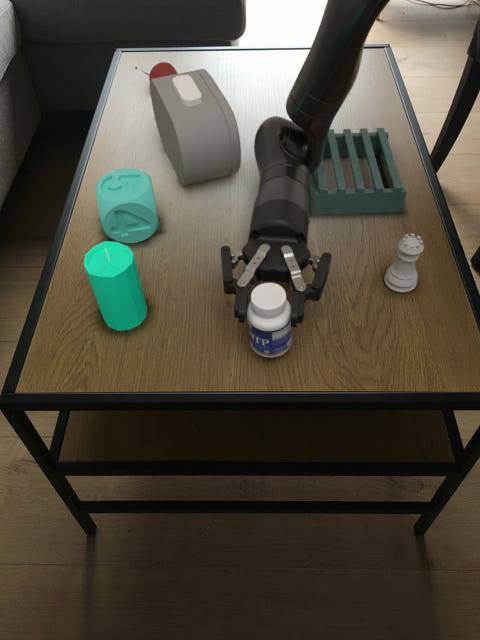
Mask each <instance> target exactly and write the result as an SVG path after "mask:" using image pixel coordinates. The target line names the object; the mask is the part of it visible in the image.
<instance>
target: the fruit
mask: <svg viewBox="0 0 480 640" xmlns="http://www.w3.org/2000/svg"><path fill="white" fill-rule="evenodd" d="M134 69H135V70H137V69H138V66H135V67H134ZM140 71H141V72H142V73H144V74H145V75H147V76H148V81H149V82H150V80H151V79H154V78H159V77H164V76H169V75H174V74H179V73H178V71H177V70H176V68H175V67H174V66H173V65H172V64H171V62H167V61H163V62H158V63H156V64H155V65H153V67H152V68H151V70H150V72H149V73H148V72H145V71H144V70H142V69H140Z"/></svg>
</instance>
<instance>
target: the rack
mask: <svg viewBox="0 0 480 640" xmlns="http://www.w3.org/2000/svg"><path fill="white" fill-rule="evenodd" d="M376 156H377V157H379V162H380V165H381V167H382V168H381V169H382V171H383V175H384V178H385V181H386V186H387V188H385V186H384V183H383V181H382V176H381V173H380V170H379V166H378V163H377V159H376ZM341 157H345V158H346V157H348V161H349V165H350V170H351V175H352V179H353V183H354V188H353V189H350V188H349V189H347V186H346V185H347V184H346V181H345V176H344V172H343V167H342V166H343V165H342V161H341ZM359 157H365V159H366V163H367V166H368V169H369V174H370V177H371V182H372V185H373V188H366V187H365V183H364V182H365V181H364V179H363V175H362V170H361V166H360V163H359ZM323 158H330V161H331V165H332V170H333V174H334V175H333V176H334V180H335V181H334V182H335V185H336V189H328V184H327V179H326V173H325V167H324V161H323V159H322V161H321V164H320V166H319V167H318V169H317V170H316V171H315V172H314V173H312V174H311V175H310V189H309V206H310V212H311V215H312V216H317V215H318V216H319V215H321V216H322V215H324V216H325V215H355V214H357V215H359V214H362V215H363V214H390V213H392V214H396V213H402V212H403V209H404V204H405V201H406V197H407V195H408V194H407V193H408V190H407V188H406V187H403V184H402V181H401V177H400V175H399V171H398V168H397V165H396V161H395V158H394V154H393V153H392V149H391V146H390V143H389V132H388V131H386V129H385V127H376V129H375V132H374V131H371V132H369V130H368V128H367V127H366V128H365V127H364V128H359V132H352V130H351V128H343V130H342V133H341V132H340V133H339V132H338V133H335V129H334V128H330V129H329V132H328V135H327V139H326V144H325V149H324V154H323Z"/></svg>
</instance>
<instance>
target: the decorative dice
mask: <svg viewBox="0 0 480 640" xmlns="http://www.w3.org/2000/svg"><path fill="white" fill-rule="evenodd" d="M95 197H96V203H97V209H98V215H99V219H100V223H101V226H102V229H103V233H104V235H105V236H106V237H108V238H109V239H111V240H113V241H114V242H119V243H121V244H137V243H142V242H144V241H146V240H148V239H149V238H150V237H152V236H153V235H154V234H156V232H157V231H158V230H159V229H160V222H159V216H158V210H157V204H156V199H155V192H154V188H153V182H152V177H151V175H149V174H148V173H146V172H145V171H142V170H140V169H137V168H130V167H128V168H127V167H126V168H119V169H115V170H112V171H109V172H108V173H106V174H104V175H102V177H100V179H99V180H98V181H97V182H96V184H95Z"/></svg>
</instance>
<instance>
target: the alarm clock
mask: <svg viewBox="0 0 480 640" xmlns="http://www.w3.org/2000/svg"><path fill="white" fill-rule="evenodd" d="M149 91H150V99H151V104H152V110H153V115H154V120H155V124H156V128H157V131H158V135H159V138H160V141H161V143H162V146H163V148H164V151H165V152H166V155H167V157H168V159H169V161H170V164H171V165H172V168H173V170H174V172H175V174H176V177H177V178H178V180H179V182H180V184H181V185H182V186H187V185H192V184H195V183H196V184H197V183H200V182H204V181H208V180H212V179H216V178H220V177H221V178H222V177H224V176H229V175H233V174H237V173H238V172H239V171H240V168H241V165H242V146H241V137H240V130H239V126H238V122H237V119H236V116H235V112H234V111H233V109H232V107H231V105H230V103H229V102H228V99H227V98H226V97H225V95H224V94H223V92H222V90H221V89H220V88H219V86H218V84H217V83H216V81H215V80H214V78H213V76H212V75H211V74H210V73H209V72H208V70H206V69H205V68H200V69H194V70H190V71H183V72H181V73H178V74H174V75H169V76H164V77H159V78H154V79H151V80H150V81H149Z"/></svg>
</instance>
